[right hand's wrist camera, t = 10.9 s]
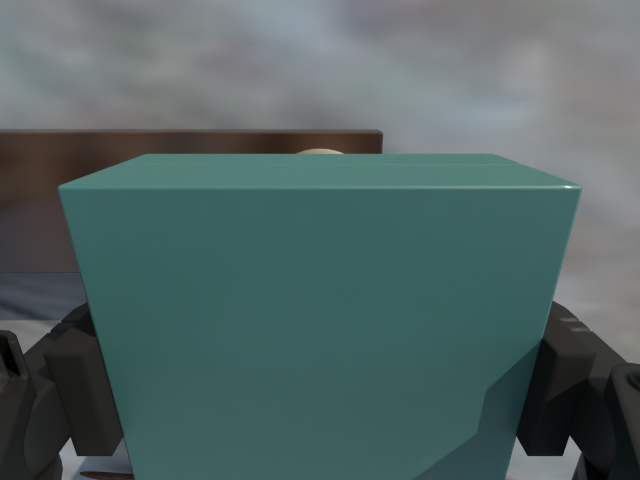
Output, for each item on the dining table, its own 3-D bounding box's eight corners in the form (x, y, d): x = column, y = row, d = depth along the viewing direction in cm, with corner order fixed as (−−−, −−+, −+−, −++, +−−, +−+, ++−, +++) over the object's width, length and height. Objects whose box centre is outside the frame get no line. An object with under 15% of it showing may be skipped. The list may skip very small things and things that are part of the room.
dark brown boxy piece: (379, 129, 20) (460, 182, 9) (371, 262, 23) (424, 436, 12) (-181, 129, 20) (-865, 183, 9) (-117, 262, 23) (-560, 437, 12)
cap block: (495, 153, 10) (585, 185, 6) (449, 417, 13) (493, 526, 10) (144, 153, 10) (54, 186, 6) (189, 417, 13) (145, 527, 10)
